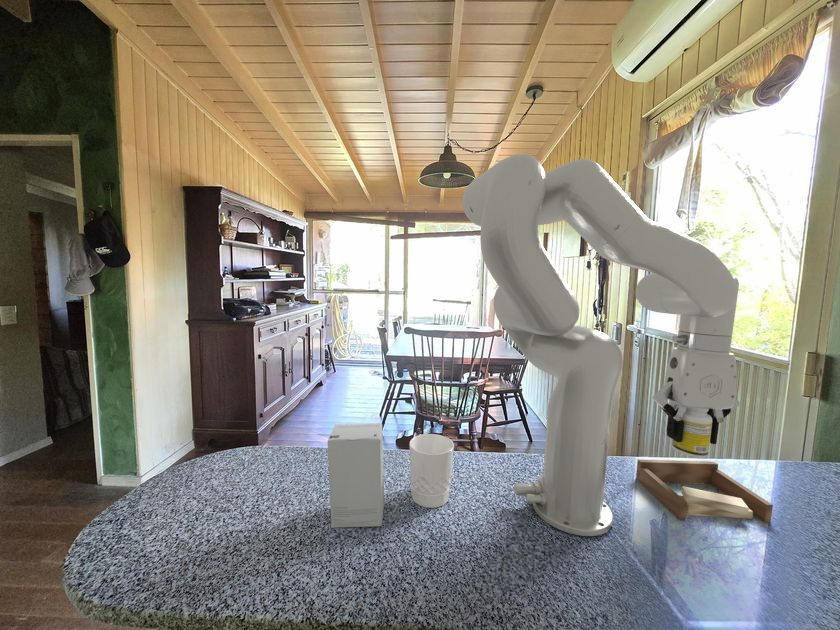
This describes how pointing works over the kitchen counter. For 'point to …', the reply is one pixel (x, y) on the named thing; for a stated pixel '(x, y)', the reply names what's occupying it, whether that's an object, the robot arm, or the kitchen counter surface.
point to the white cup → (431, 469)
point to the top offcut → (714, 500)
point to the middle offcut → (714, 511)
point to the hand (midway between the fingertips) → (690, 439)
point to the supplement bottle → (695, 433)
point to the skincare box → (356, 475)
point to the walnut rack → (706, 472)
